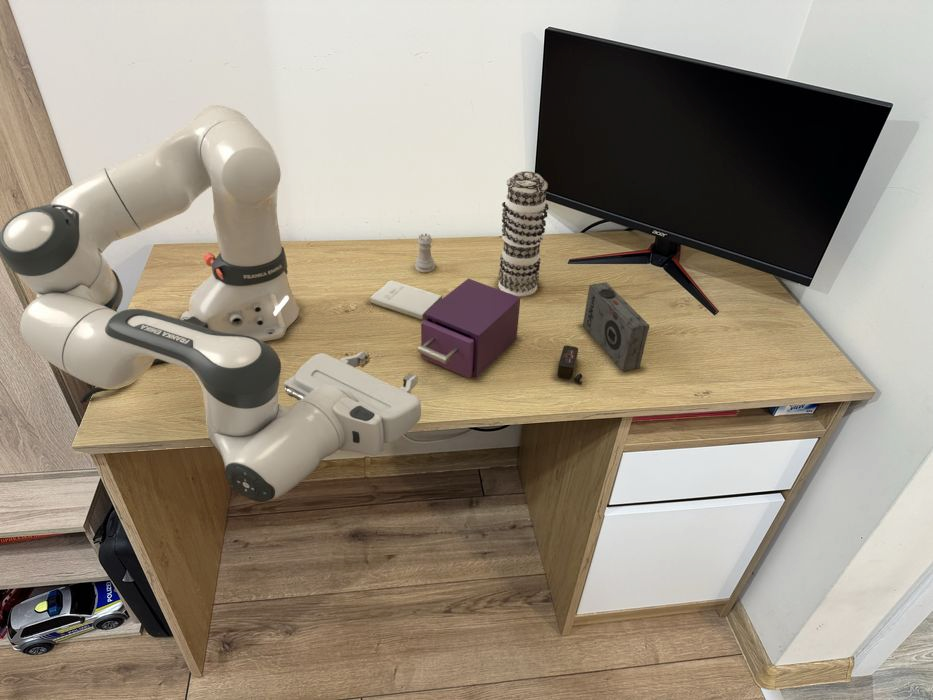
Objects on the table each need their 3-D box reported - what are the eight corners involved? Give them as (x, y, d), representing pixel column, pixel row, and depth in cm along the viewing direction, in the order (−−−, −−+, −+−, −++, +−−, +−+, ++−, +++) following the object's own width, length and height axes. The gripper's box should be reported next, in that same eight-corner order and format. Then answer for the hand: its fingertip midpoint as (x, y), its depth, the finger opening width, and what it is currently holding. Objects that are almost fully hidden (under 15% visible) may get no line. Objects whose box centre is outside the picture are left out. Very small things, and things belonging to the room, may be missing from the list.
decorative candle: (535, 300, 147) (547, 189, 131) (492, 293, 148) (499, 182, 133) (542, 278, 154) (555, 170, 138) (501, 271, 155) (510, 164, 140)
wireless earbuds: (555, 381, 126) (557, 367, 124) (561, 358, 131) (564, 344, 129) (581, 386, 125) (583, 372, 123) (586, 363, 130) (589, 349, 128)
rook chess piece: (411, 265, 156) (411, 233, 151) (430, 261, 158) (430, 230, 153) (419, 275, 153) (419, 242, 148) (438, 271, 155) (438, 239, 150)
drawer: (455, 391, 121) (456, 355, 117) (407, 369, 126) (406, 334, 121) (507, 341, 133) (510, 307, 129) (461, 323, 138) (462, 289, 133)
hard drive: (422, 321, 139) (370, 303, 144) (442, 301, 145) (391, 285, 149) (422, 314, 138) (369, 296, 143) (442, 295, 144) (391, 278, 148)
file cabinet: (476, 378, 126) (478, 335, 120) (423, 355, 130) (423, 313, 125) (516, 339, 136) (520, 297, 130) (466, 319, 140) (468, 278, 135)
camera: (579, 323, 140) (586, 281, 134) (596, 320, 142) (604, 277, 136) (621, 372, 128) (631, 328, 122) (640, 368, 130) (650, 324, 124)
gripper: (279, 404, 106) (340, 358, 116) (385, 461, 98) (442, 406, 107) (274, 372, 103) (337, 327, 112) (384, 428, 94) (442, 375, 103)
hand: (389, 366), depth 110 cm, fingers open, 8 cm apart
